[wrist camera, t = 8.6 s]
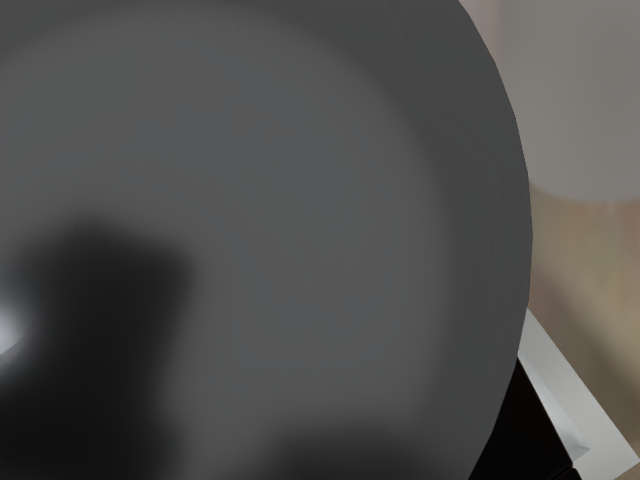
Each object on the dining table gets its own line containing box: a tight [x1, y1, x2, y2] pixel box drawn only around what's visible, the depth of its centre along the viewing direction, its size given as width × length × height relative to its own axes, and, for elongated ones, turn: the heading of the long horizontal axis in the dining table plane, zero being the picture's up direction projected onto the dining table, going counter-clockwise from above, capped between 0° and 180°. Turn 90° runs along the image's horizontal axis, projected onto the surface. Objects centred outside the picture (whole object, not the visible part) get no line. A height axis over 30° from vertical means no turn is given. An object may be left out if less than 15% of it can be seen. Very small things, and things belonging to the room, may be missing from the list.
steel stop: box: [0, 0, 533, 480], centre depth 9 cm, size 8×8×14 cm
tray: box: [517, 307, 640, 480], centre depth 20 cm, size 12×12×2 cm
